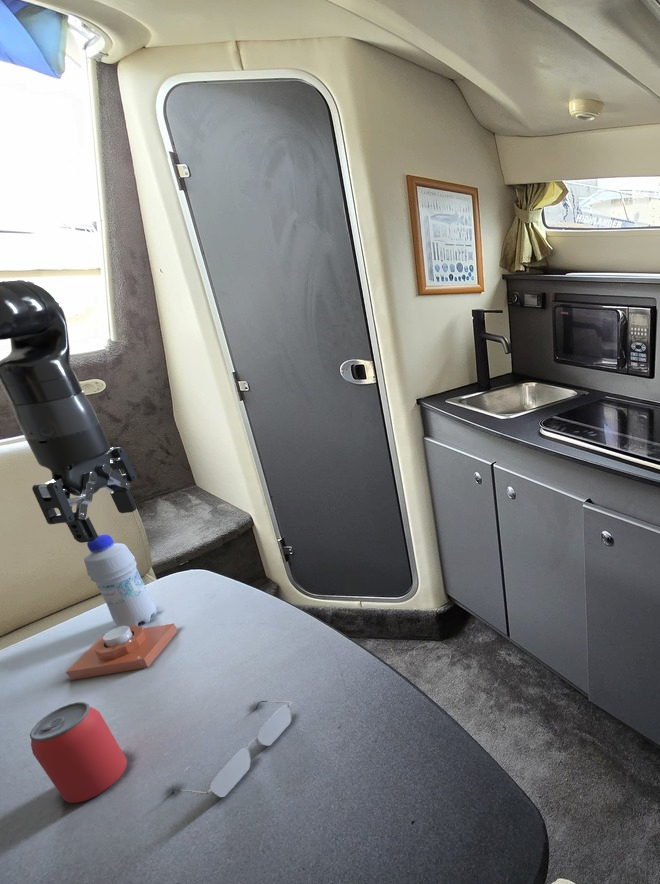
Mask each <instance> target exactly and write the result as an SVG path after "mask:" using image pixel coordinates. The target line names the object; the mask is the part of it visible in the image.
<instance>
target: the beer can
mask: <svg viewBox="0 0 660 884" xmlns="http://www.w3.org/2000/svg"><path fill="white" fill-rule="evenodd" d="M29 737H30V739H31V740H30V747H31V751H32V755H33V756H34V757H35V759H36V760H37V762H38V763H39V765H40V767H41V768H42V769H43V771H44V773H45V774H46V775H47V777H48V778H49V779H50V781H51V782H52V784H53V785H54V787H55V789H56V790H57V791H58V793H59V794H60V796H61V797H62V799H63V800H64V801H65V802H67V803H69V804H79V803H82V802H85V801H89V800H92V799H94V798H95V797H97V796H100V794H102V793H104V792H105V791H107V790H108V789H110V787H112V786H113V785H114V784H116V782H117V781H118V780H119V779H120V778H121V777H122V776H123V774H124V772H125V770H126V769H127V765H128V759H127V757H126V755H125V754H124V752H123V751H122V748H121V747H120V745H119V743H118V742H117V739H116V738H115V736H114V734H113V733H112V731H111V730H110V727H109V726H108V724H107V723H106V721H105V719H104V717H103V716H102V713H101V712H100V711H99V710H97V709H96V708H95V707H92V706H90V704H89V703H87V702H85V701H79V702H77V701H76V702H73V703H68V704H66V705H63V706H61V707H59V708H57V709H55V710H53V711H51V712H50V713H48V714H47V715H45V716H44V717H42V718H41V719H40V720H38V722H36V724H35V725H34V726H33V728H32V729H31V731H30V732H29Z"/></svg>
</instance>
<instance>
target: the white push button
mask: <svg viewBox="0 0 660 884" xmlns="http://www.w3.org/2000/svg"><path fill="white" fill-rule="evenodd" d="M104 634H105V635H104V636H103V640H104V642H105V644H106V646H107V647H115V646H117V645H120V644H122V643H124V642H126V641H127V640H129V639H130V638H131V637H132V636H133V634H132V632H131V630H130V628H129V626H120V627H118V626H117V627H115V628H113V629H110V630H109V631H107V632H106V633H104Z"/></svg>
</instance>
